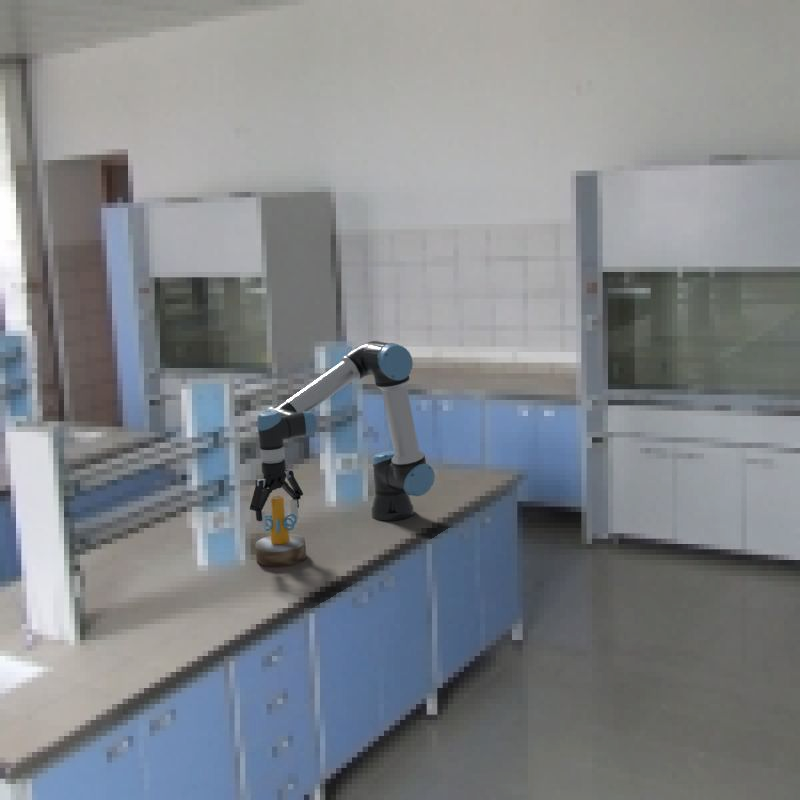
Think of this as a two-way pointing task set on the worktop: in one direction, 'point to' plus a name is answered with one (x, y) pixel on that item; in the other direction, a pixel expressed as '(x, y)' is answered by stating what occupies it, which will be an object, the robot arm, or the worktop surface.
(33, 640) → the worktop surface
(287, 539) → the orange upright piece
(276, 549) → the pedestal
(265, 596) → the worktop surface
